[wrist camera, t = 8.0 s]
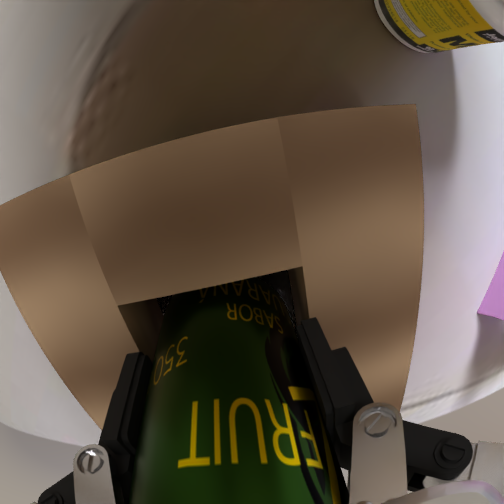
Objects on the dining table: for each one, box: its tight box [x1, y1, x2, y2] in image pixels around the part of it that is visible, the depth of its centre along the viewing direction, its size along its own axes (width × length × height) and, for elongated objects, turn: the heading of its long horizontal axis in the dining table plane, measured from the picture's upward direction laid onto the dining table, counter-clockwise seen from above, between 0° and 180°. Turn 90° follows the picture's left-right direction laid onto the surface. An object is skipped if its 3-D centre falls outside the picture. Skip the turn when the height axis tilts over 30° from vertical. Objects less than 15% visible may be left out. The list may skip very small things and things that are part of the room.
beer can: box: [129, 277, 349, 504], centre depth 8 cm, size 5×5×12 cm
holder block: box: [0, 104, 424, 430], centre depth 13 cm, size 16×16×4 cm
